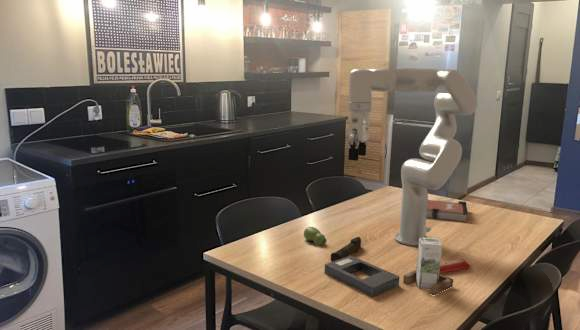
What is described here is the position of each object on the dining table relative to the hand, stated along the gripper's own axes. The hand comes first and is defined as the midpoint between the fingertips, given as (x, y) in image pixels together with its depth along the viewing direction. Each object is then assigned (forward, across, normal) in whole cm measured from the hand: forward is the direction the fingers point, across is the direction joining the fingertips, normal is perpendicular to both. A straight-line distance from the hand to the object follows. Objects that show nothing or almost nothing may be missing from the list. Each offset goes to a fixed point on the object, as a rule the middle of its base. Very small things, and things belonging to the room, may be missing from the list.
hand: (357, 157), depth 161 cm
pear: (+35, +4, +16) cm, 38 cm away
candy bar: (+35, 0, -33) cm, 48 cm away
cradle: (+34, -15, -28) cm, 46 cm away
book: (+35, +62, -21) cm, 74 cm away
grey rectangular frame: (+34, -20, -8) cm, 40 cm away
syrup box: (+35, -15, -28) cm, 47 cm away
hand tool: (+35, -2, +1) cm, 35 cm away
